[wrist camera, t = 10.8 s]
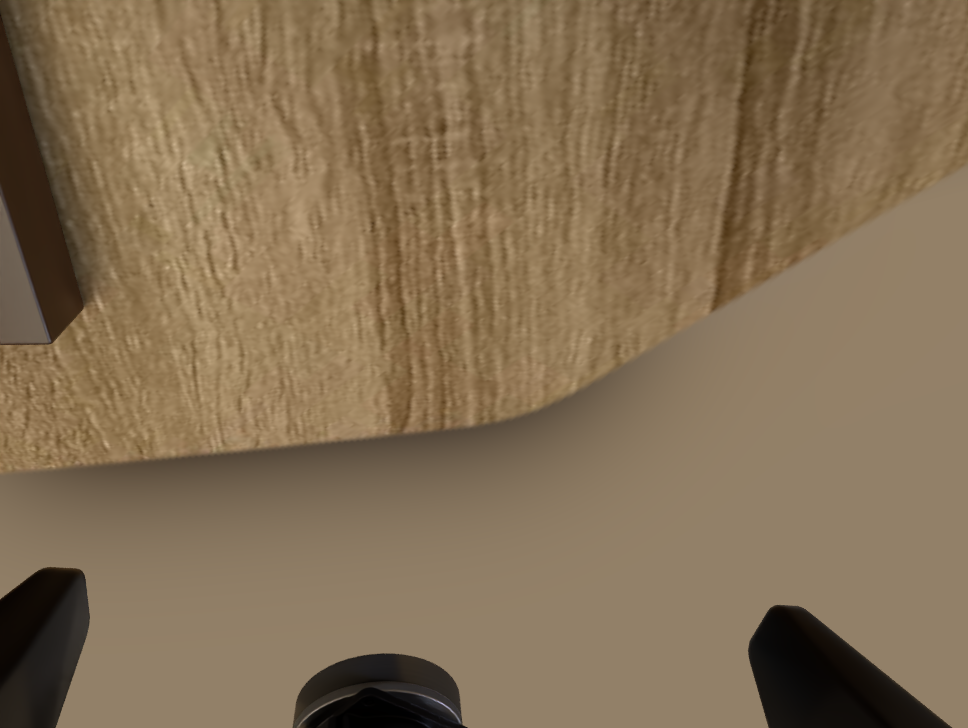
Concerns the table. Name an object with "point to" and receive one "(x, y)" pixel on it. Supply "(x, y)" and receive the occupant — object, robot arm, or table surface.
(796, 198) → the table surface
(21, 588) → the robot arm
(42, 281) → the button block
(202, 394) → the table surface
